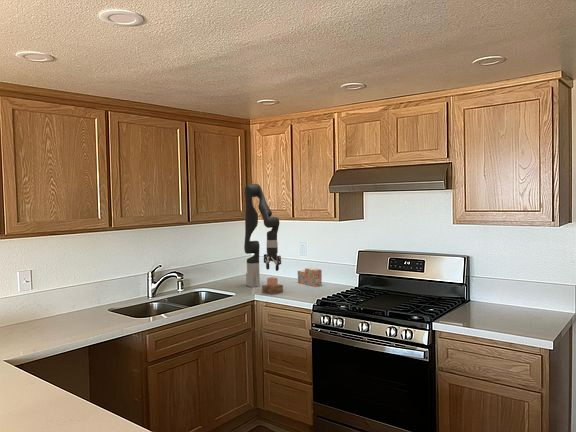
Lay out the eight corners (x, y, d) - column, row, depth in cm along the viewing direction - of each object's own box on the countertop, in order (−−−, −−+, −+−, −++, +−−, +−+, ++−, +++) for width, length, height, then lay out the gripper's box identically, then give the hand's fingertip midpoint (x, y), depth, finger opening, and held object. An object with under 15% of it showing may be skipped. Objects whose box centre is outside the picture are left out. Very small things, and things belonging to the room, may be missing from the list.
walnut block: (262, 292, 332) (262, 285, 332) (272, 290, 339) (272, 283, 339) (272, 294, 325) (272, 287, 325) (283, 292, 333) (282, 285, 332)
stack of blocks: (297, 283, 367) (297, 266, 367) (304, 282, 371) (304, 266, 370) (315, 287, 350) (314, 270, 349) (321, 286, 353) (321, 269, 353)
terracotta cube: (267, 285, 332) (267, 278, 332) (272, 284, 336) (272, 277, 335) (272, 286, 328) (272, 278, 328) (277, 285, 332) (277, 277, 332)
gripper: (260, 246, 333) (261, 269, 334) (276, 247, 323) (276, 271, 324) (268, 245, 338) (268, 268, 339) (283, 246, 329) (283, 270, 330)
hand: (272, 270), depth 332 cm, fingers open, 8 cm apart
